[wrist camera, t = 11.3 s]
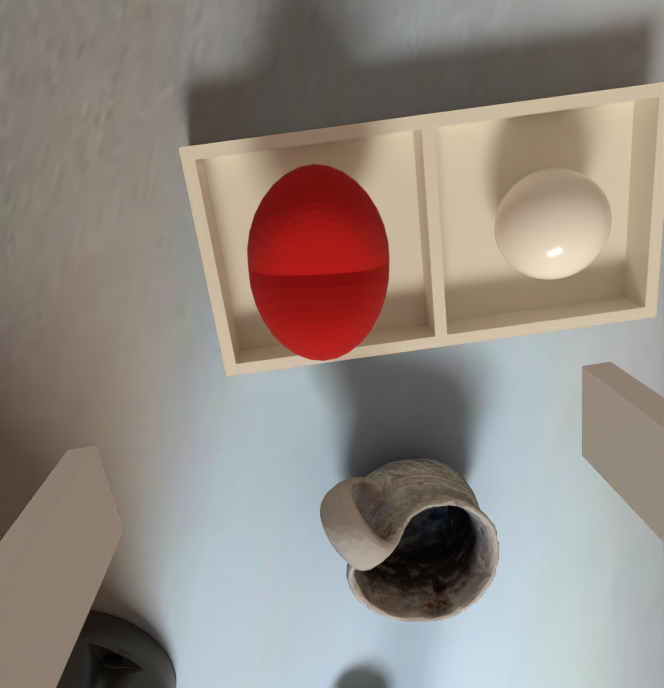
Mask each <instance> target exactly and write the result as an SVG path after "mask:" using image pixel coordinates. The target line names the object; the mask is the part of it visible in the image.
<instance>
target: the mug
mask: <svg viewBox="0 0 664 688" xmlns="http://www.w3.org/2000/svg"><path fill="white" fill-rule="evenodd" d="M320 517H321V521H322V525H323V528H324V531H325V533H326V535H327V537H328V539H329V541H330V542H331V544H332V546H333V547H334V548H335V550H336V551H337V552H338V553H339V554H340V556H341V557H342V558H343V559H344V560H345V561H346V562H347V563H348V564H347V575H346V576H347V580H348V584H349V587H350V589H351V591H352V592H353V594H354V595H355V597H356V598H357V600H358V601H359V602H361V603H363V604H365V605H366V606H367V607H368V609H370V610H371V611H373V612H374V613H376V614H379V615H383V616H386V617H389V618H393V619H396V620H401V621H405V622H426V621H438V620H444V619H447V618H451V617H454V616H456V615H458V614H459V613H461V611H462V610H465V609H467V608H468V607H470V606H471V605H473V604H474V603H475V602H477V601H478V600H479V599H480V598H481V596H482V595H483V594H484V593H485V591H486V590H487V588H488V587H489V585H490V584H491V582H492V580H493V578H494V577H495V573H496V567H497V564H498V560H499V542H498V541H497V531H496V529H495V526H494V524H493V523H492V522H491V521H490V519H489V518H488V517H487V516H486V515H485V514H484V513H483V512H482V511H481V510H480V508H479V505H478V502H477V500H476V497H475V495H474V493H473V491H472V489H471V488H470V486H469V485H468V483H467V482H466V480H465V479H464V478H463V476H462V475H461V474H460V473H459V472H458V471H457V470H456V469H454V468H452V467H451V466H449V465H448V464H445V463H443V462H441V461H437V460H434V459H427V458H415V459H404V460H398V461H393V462H390V463H386V464H384V465H382V466H380V467H379V468H378V469H376V470H374V471H373V472H371V473H370V474H369V475H367V476H366V477H353V478H349V479H346V480H344V481H342V482H340V483H338V484H337V485H336V486H334V487H333V488H332V489H331V490H330V491H329V492H328V493H327V494H326V495H325V497H324V499H323V501H322V503H321V507H320Z"/></svg>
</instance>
